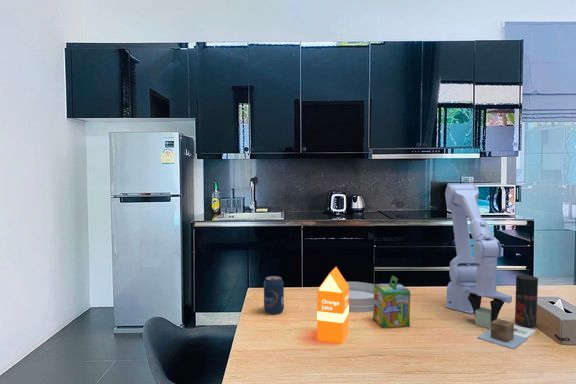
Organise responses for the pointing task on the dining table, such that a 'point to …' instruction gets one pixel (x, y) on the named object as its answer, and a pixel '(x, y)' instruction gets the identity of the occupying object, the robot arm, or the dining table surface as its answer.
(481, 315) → the block sage
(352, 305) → the dish
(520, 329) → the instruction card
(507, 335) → the block walnut
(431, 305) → the dining table surface
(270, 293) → the soda can
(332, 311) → the orange juice
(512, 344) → the baseplate
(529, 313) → the deodorant
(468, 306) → the robot arm
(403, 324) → the chalk box
